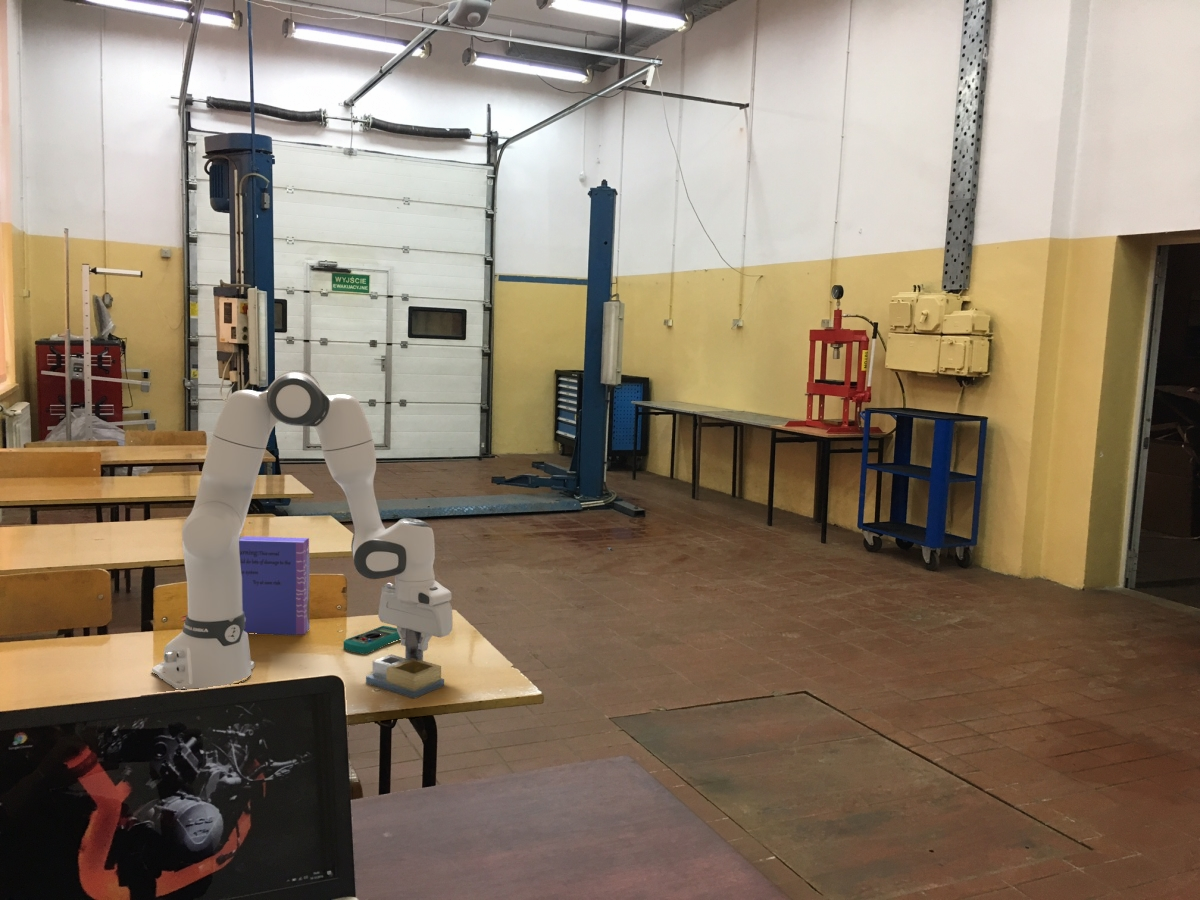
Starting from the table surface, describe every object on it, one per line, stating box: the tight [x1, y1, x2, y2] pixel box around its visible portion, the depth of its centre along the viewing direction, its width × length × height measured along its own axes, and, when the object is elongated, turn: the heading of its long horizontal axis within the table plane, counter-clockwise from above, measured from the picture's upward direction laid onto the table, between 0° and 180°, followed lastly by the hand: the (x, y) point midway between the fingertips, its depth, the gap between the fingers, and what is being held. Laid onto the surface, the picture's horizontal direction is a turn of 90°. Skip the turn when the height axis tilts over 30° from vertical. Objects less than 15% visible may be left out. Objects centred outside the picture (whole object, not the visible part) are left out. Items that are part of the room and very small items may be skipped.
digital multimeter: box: [342, 625, 401, 655], centre depth 234 cm, size 7×15×3 cm, turn 151°
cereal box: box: [239, 535, 311, 636], centre depth 240 cm, size 17×5×24 cm, turn 91°
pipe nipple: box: [404, 628, 424, 661], centre depth 220 cm, size 4×4×9 cm
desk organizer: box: [365, 654, 445, 699], centre depth 208 cm, size 14×9×4 cm, turn 57°
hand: (414, 647), depth 220 cm, fingers closed on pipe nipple, 4 cm apart
